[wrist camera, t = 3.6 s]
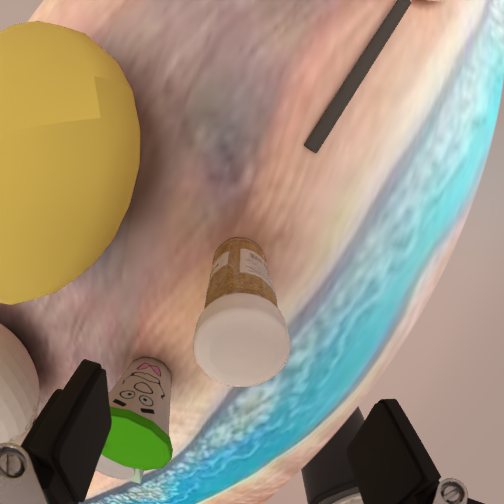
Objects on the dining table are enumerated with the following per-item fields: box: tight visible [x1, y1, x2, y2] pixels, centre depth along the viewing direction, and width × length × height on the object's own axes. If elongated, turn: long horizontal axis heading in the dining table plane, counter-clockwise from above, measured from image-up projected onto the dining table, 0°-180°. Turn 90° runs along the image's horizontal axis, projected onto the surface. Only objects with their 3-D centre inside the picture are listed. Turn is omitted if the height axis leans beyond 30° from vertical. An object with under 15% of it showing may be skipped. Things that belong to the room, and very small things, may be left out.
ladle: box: [304, 0, 439, 153], centre depth 20 cm, size 8×31×4 cm, turn 150°
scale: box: [95, 454, 143, 484], centre depth 32 cm, size 9×9×3 cm
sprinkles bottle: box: [193, 238, 290, 387], centre depth 20 cm, size 5×5×13 cm
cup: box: [101, 357, 173, 470], centre depth 22 cm, size 8×8×15 cm
